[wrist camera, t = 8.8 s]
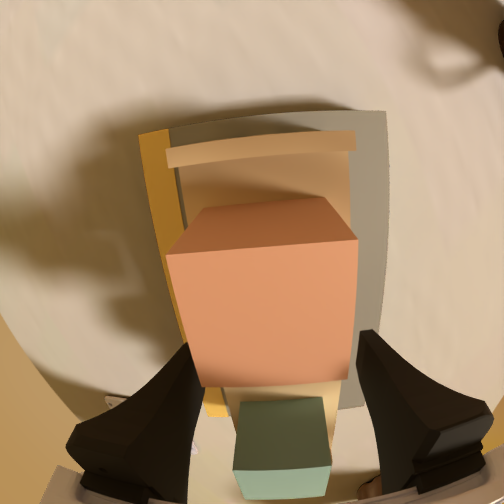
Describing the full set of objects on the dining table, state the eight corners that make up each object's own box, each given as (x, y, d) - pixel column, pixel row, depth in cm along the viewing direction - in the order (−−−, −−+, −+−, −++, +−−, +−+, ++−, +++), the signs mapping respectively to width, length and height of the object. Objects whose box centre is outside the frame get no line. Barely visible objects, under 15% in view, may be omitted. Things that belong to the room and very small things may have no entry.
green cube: (318, 437, 15) (324, 495, 11) (249, 441, 15) (245, 499, 11) (322, 396, 13) (331, 465, 9) (240, 401, 13) (232, 470, 10)
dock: (356, 379, 22) (364, 406, 20) (213, 388, 24) (208, 416, 21) (367, 113, 15) (386, 111, 12) (159, 133, 16) (137, 135, 13)
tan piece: (323, 403, 20) (331, 466, 14) (248, 408, 20) (242, 470, 15) (322, 130, 13) (355, 130, 8) (204, 141, 13) (165, 148, 8)
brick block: (326, 302, 11) (347, 379, 7) (221, 310, 11) (201, 387, 8) (324, 197, 10) (358, 239, 6) (203, 207, 10) (165, 254, 6)
